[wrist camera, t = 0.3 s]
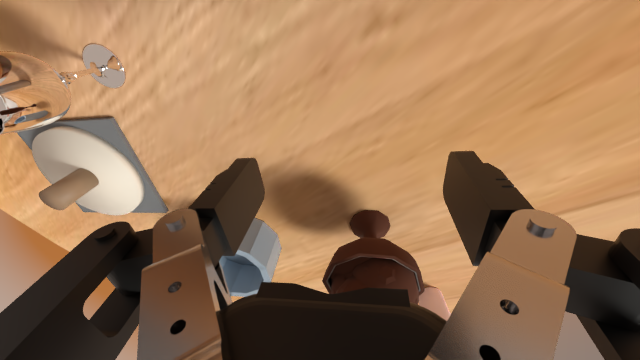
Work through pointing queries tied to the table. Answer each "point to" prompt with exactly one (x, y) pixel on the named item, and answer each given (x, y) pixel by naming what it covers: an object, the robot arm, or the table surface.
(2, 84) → the wineglass
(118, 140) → the mat
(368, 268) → the ice cream bowl
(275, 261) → the bowl
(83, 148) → the lid
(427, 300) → the smoothie
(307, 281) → the table surface
